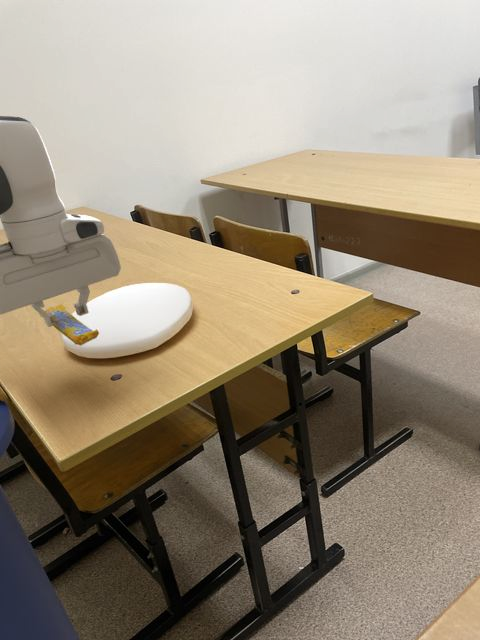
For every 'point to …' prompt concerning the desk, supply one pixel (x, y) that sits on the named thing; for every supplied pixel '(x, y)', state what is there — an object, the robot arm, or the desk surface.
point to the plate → (133, 319)
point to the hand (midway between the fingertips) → (68, 319)
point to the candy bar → (72, 326)
